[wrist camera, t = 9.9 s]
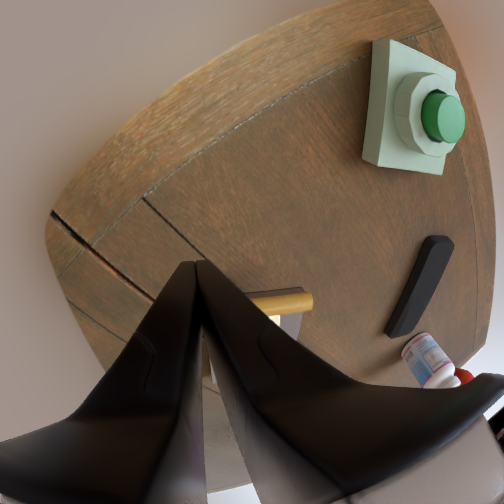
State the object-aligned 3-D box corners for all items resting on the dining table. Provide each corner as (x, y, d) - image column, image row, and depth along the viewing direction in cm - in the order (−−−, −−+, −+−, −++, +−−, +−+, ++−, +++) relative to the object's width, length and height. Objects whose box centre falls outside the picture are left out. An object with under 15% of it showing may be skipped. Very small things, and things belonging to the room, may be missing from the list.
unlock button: (422, 86, 14) (440, 89, 13) (451, 99, 15) (467, 103, 13) (417, 133, 16) (434, 138, 14) (445, 141, 17) (461, 147, 15)
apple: (463, 359, 56) (483, 385, 47) (442, 380, 59) (460, 406, 50) (456, 357, 52) (477, 387, 43) (433, 380, 55) (452, 410, 46)
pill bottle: (409, 357, 41) (440, 404, 32) (394, 354, 38) (428, 407, 29) (432, 333, 39) (468, 379, 30) (420, 327, 36) (459, 379, 27)
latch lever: (225, 296, 20) (230, 307, 18) (303, 287, 21) (316, 296, 19) (235, 412, 22) (240, 430, 20) (299, 400, 23) (309, 415, 21)
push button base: (372, 41, 15) (406, 37, 12) (438, 69, 17) (471, 73, 13) (361, 158, 20) (391, 173, 17) (426, 167, 22) (455, 182, 18)
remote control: (423, 233, 27) (382, 334, 34) (434, 240, 25) (388, 343, 32) (447, 233, 28) (406, 328, 35) (457, 240, 26) (413, 336, 33)
